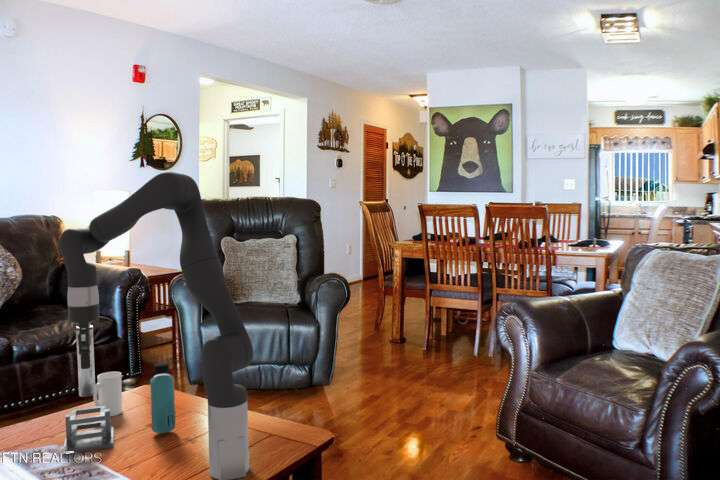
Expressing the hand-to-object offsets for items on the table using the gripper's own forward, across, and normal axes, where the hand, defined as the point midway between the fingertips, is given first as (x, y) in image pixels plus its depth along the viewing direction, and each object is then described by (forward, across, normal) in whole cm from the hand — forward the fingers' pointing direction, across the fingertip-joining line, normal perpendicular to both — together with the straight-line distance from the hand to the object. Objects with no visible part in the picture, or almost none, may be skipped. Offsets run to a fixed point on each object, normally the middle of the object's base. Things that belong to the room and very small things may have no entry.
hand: (86, 365), depth 156 cm
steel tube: (+8, 0, 0) cm, 8 cm away
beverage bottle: (+21, -2, -19) cm, 29 cm away
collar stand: (+21, 0, 0) cm, 21 cm away
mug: (+21, +20, -4) cm, 30 cm away
